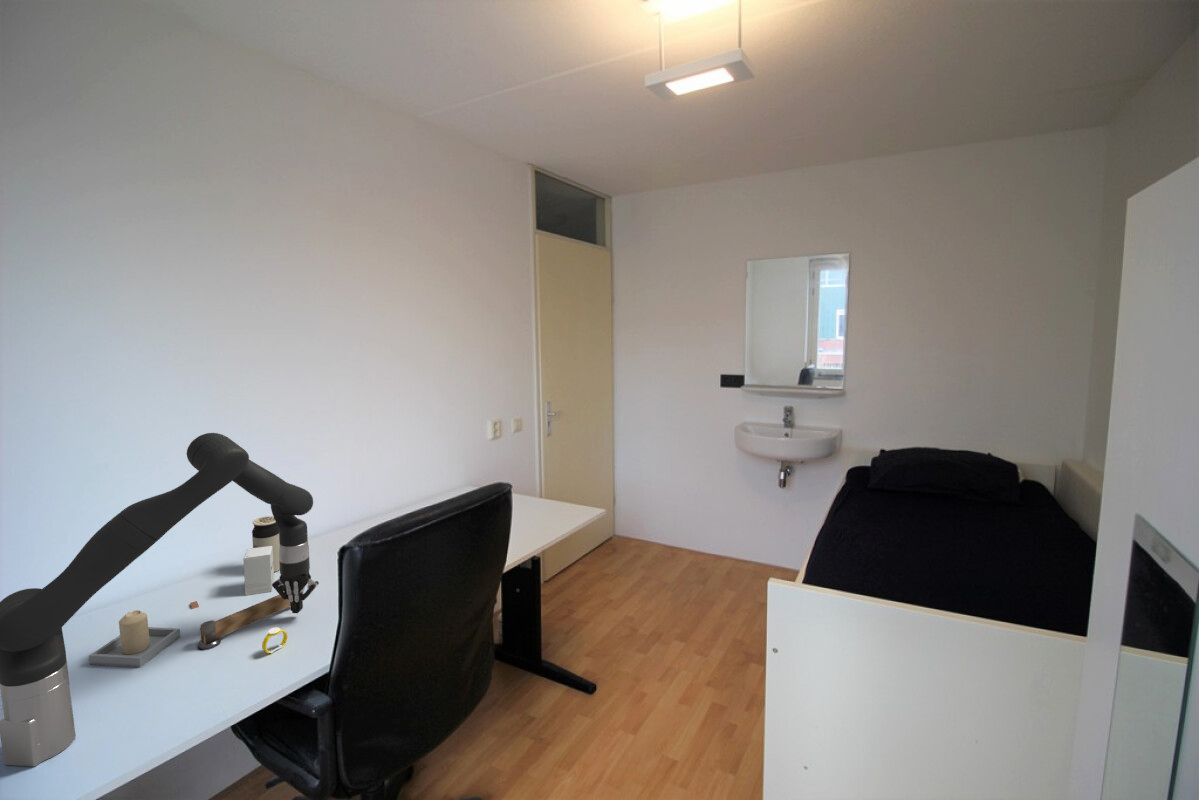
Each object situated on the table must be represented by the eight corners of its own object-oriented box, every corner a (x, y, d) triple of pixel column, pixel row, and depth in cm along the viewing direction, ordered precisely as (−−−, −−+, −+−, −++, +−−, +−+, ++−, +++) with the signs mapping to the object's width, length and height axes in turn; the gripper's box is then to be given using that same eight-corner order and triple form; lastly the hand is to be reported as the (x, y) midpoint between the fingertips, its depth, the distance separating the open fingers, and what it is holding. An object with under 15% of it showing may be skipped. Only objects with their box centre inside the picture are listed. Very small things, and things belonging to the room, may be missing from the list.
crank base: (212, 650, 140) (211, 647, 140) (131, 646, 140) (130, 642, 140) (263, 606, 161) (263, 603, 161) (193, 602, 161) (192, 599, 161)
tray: (140, 667, 132) (139, 658, 132) (90, 664, 133) (89, 655, 132) (180, 637, 145) (179, 628, 145) (134, 634, 145) (133, 626, 145)
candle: (133, 657, 135) (129, 620, 134) (116, 653, 136) (112, 617, 135) (155, 644, 141) (152, 609, 139) (138, 640, 142) (135, 605, 140)
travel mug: (276, 562, 189) (273, 513, 186) (285, 569, 184) (283, 520, 181) (250, 569, 183) (247, 519, 180) (259, 577, 178) (256, 526, 175)
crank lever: (205, 644, 140) (203, 624, 139) (199, 640, 142) (197, 619, 141) (296, 604, 161) (295, 586, 160) (290, 601, 162) (289, 583, 161)
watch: (267, 658, 139) (265, 638, 137) (261, 655, 140) (258, 635, 139) (290, 645, 144) (287, 626, 142) (284, 642, 145) (281, 622, 144)
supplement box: (272, 591, 170) (270, 554, 168) (244, 596, 166) (242, 558, 164) (274, 580, 176) (273, 545, 174) (248, 584, 173) (246, 548, 171)
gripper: (324, 551, 157) (325, 606, 160) (279, 549, 157) (281, 603, 160) (310, 563, 150) (312, 620, 152) (263, 561, 150) (266, 617, 152)
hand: (296, 611), depth 156 cm, fingers closed
